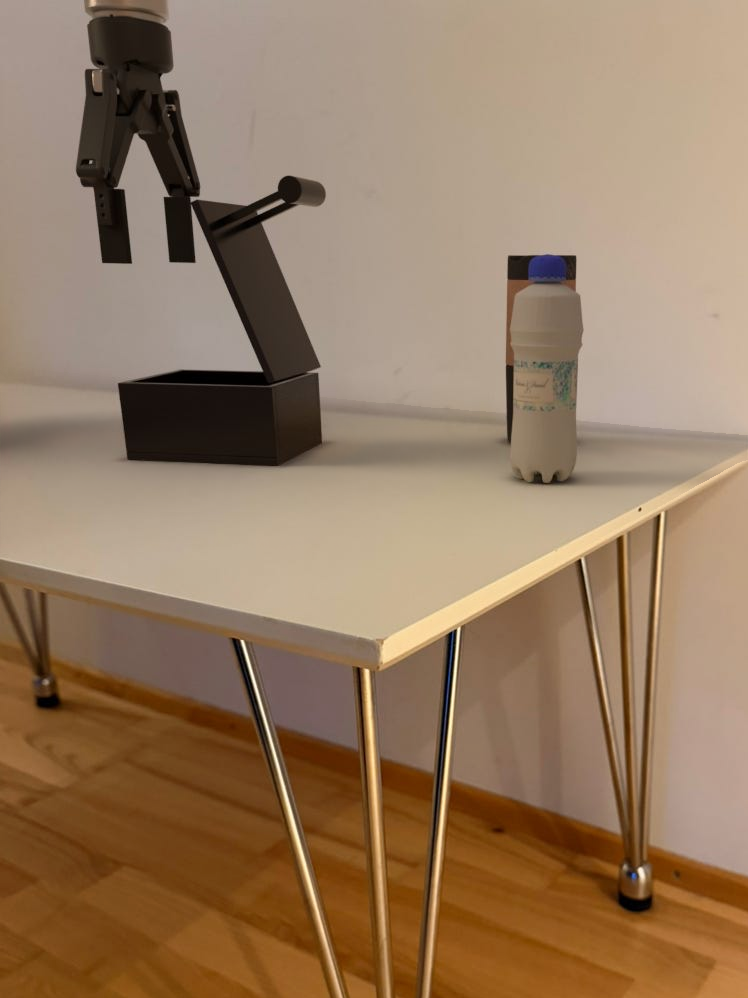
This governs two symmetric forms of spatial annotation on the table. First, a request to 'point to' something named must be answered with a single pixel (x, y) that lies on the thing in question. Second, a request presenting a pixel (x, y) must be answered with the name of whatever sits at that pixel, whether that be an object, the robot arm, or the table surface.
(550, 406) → the bottle
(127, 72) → the robot arm
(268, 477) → the table surface
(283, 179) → the maker lid
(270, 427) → the open dark storage box
